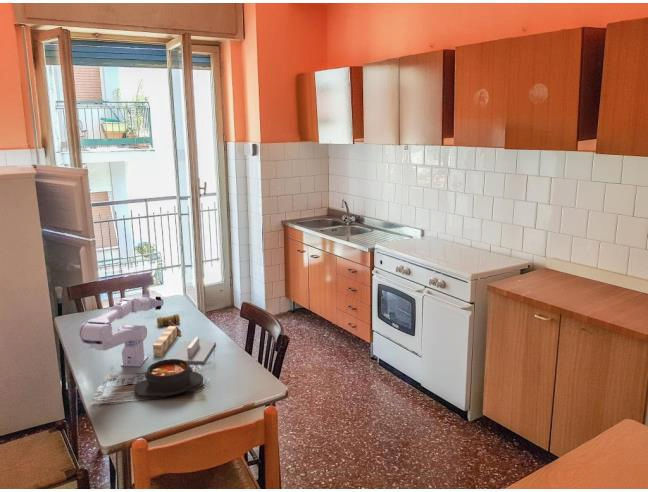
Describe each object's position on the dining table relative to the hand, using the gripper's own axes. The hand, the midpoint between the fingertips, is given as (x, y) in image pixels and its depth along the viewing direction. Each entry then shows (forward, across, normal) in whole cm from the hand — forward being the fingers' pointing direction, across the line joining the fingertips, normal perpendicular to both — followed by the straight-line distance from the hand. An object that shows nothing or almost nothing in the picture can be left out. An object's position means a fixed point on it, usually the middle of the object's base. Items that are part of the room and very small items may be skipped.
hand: (154, 302), depth 240 cm
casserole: (-34, -21, +31) cm, 51 cm away
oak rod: (+2, -4, +19) cm, 20 cm away
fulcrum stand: (-4, -19, +22) cm, 30 cm away
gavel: (+20, 0, +14) cm, 25 cm away
